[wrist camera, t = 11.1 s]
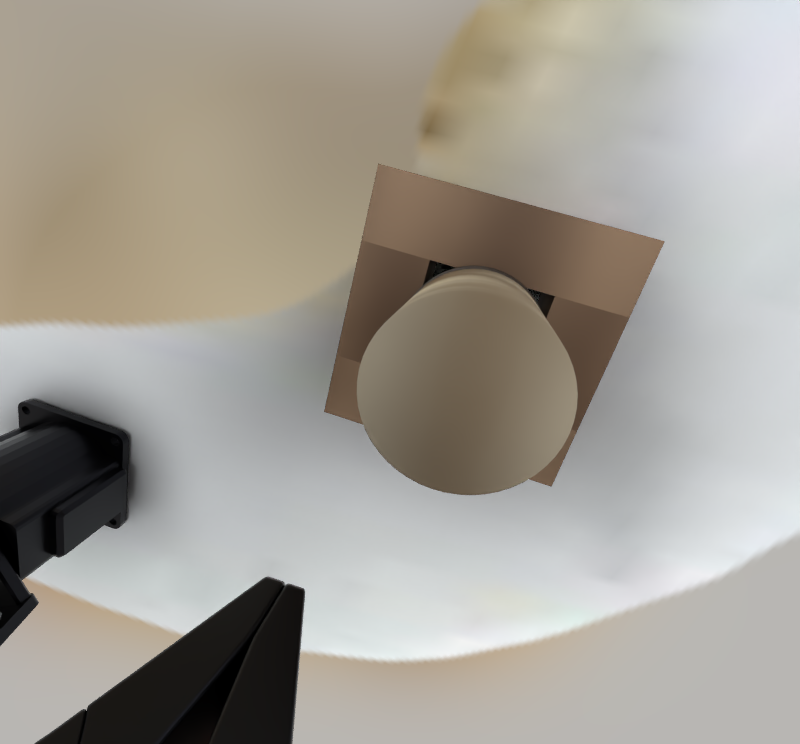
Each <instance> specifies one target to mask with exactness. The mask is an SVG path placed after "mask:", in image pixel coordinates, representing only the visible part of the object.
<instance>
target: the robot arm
mask: <svg viewBox="0 0 800 744" xmlns="http://www.w3.org/2000/svg"><path fill="white" fill-rule="evenodd" d="M18 413H19V428H18V429H16V430H13V431H11V432H9V433H6V434H4V435H2V436H0V646H1V645H2V644H3V643H4V641H5V640H6V639H7V638H8V637H9V636H10V635H11V634H12V633H13V631H14V630H15V629H16V628H17V627H18V626H19V625H20V624H21V623H22V621H23V620H24V619H25V618H26V617H27V616H28V614H30V613H31V611H32V610H33V609H34V608H35V607H36V606H37V605H38V603H39V602H38V601H37V599H36V597H35V596H34V594H33V593H29V591H28V590H27V588H26V587H25V585H24V583H23V582H22V580H23V579H24V578H25V577H27V576H28V575H29V574H31V573H32V572H33V571H35V570H36V569H37V568H39V567H40V566H41V565H43V564H44V563H45V562H47V561H48V560H49V559H51V558H52V557H53V556H56V557H62V556H64V555H66V554H67V553H68V552H70V551H71V550H72V549H74V548H75V547H76V546H78V545H79V544H80V543H81V542H83V541H84V540H85V539H87V538H88V537H89V536H90V535H92V534H93V533H94V532H96V531H97V530H98V529H99V528H101V527H102V526H103V525H106V526H108V527H111V528H114V529H117V528H119V527H120V526H122V525H123V524H124V523H125V521H126V503H127V477H128V451H129V439H128V437H127V435H126V434H125V433H124V432H123V431H121V430H118V429H115V428H112V427H109V426H106V425H103V424H101V423H98V422H95V421H92V420H89V419H86V418H83V417H81V416H78V415H75V414H72V413H69V412H66V411H63V410H61V409H58V408H55V407H52V406H49V405H46V404H43V403H41V402H38V401H35V400H31V399H29V400H26V401H24V402H21V403H20V404H19V405H18ZM304 601H305V590H304V589H303V588H301V587H298V586H295V585H292V584H286V585H285V583H284V582H283V581H280V580H277V579H274V578H271V577H265V578H263V579H262V580H260V581H259V582H258V583H256V584H255V585H254V586H252V587H251V588H249V589H248V590H247V591H245V592H244V593H243V594H241V595H240V596H238V597H237V598H236V599H234V600H233V601H232V602H230V603H229V604H227V605H226V606H225V607H223V608H222V609H220V610H219V611H218V612H216V613H215V614H214V615H212V616H211V617H209V618H208V619H207V620H205V621H204V622H203V623H201V624H200V625H198V626H197V627H196V628H194V629H193V630H192V631H190V632H189V633H187V634H186V635H185V636H183V637H182V638H181V639H179V640H178V641H176V642H175V643H174V644H172V645H171V646H170V647H168V648H167V649H165V650H164V651H163V652H161V653H160V654H159V655H157V656H156V657H154V658H153V659H152V660H150V661H149V662H147V663H146V664H145V665H143V666H142V667H141V668H139V669H138V670H137V671H135V672H134V673H132V674H131V675H130V676H128V677H127V678H126V679H124V680H123V681H121V682H120V683H119V684H117V685H116V686H114V687H113V688H112V689H110V690H109V691H108V692H106V693H105V694H103V695H102V696H101V697H99V698H98V699H97V700H95V701H94V702H92V703H91V704H90V705H89V706H88V708H87V711H86V710H85V709H83V710H81V711H80V712H78V713H77V714H76V715H74V716H73V717H72V718H70V719H69V720H67V721H66V722H65V723H63V724H62V725H61V726H59V727H58V728H56V729H55V730H54V731H52V732H51V733H49V734H48V735H46V736H45V737H43V738H42V739H40V740H39V741H38V742H36V743H35V744H292V741H293V740H292V739H293V729H294V717H295V705H296V694H297V681H298V671H299V659H300V648H301V636H302V624H303V613H304Z"/></svg>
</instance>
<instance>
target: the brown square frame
mask: <svg viewBox="0 0 800 744" xmlns="http://www.w3.org/2000/svg"><path fill="white" fill-rule="evenodd" d="M663 244H664V241H661V240H657V239H654V238H650V237H646V236H643V235H639V234H635V233H632V232H628V231H624V230H621V229H617V228H613V227H610V226H606V225H602V224H598V223H595V222H591V221H587V220H584V219H580V218H576V217H573V216H569V215H565V214H562V213H558V212H554V211H551V210H547V209H543V208H539V207H536V206H532V205H528V204H525V203H521V202H517V201H514V200H510V199H506V198H503V197H499V196H495V195H492V194H488V193H484V192H480V191H477V190H473V189H469V188H466V187H462V186H458V185H455V184H451V183H447V182H444V181H440V180H436V179H432V178H429V177H425V176H421V175H418V174H414V173H410V172H407V171H403V170H399V169H396V168H392V167H388V166H385V165H381V164H378V168H377V172H376V177H375V182H374V186H373V191H372V196H371V200H370V205H369V209H368V214H367V218H366V223H365V227H364V232H363V236H362V241H361V246H360V251H359V255H358V259H357V264H356V268H355V273H354V278H353V282H352V287H351V291H350V296H349V300H348V305H347V310H346V314H345V319H344V323H343V328H342V332H341V337H340V342H339V346H338V351H337V355H336V360H335V364H334V369H333V374H332V378H331V383H330V387H329V392H328V397H327V401H326V406H325V410H324V412H327V413H330V414H333V415H336V416H339V417H342V418H345V419H348V420H351V421H354V422H357V423H360V424H363V422H362V420H361V416H360V412H359V408H358V401H357V378H358V372H359V367H360V364H361V361H362V358H363V355H364V353H365V351H366V349H367V346H368V344H369V343H370V341H371V340H372V338H373V337H374V335H375V334H376V332H377V331H378V330H379V329H380V328H381V326H382V325H383V324H384V323H385V322H386V321H387V320H388V319H389V318H390V317H391V316H392V315H394V314H395V313H396V312H397V311H398V310H399V309H400V308H401V307H402V306H403V305H404V304H405V303H407V302H408V301H409V300H410V299H411V298H412V296H413V295H414V294H415V293H416V292H417V291H418V290H419V289H420V288H421V287H422V286H423V285H424V284H425V283H426V282H428V281H429V280H430V279H432V277H433V274H434V270H435V267H436V263H437V262H439V263H442V264H446V265H449V266H453V267H456V268H457V267H462V266H485V267H490V268H494V269H497V270H500V271H503V272H505V273H507V274H509V275H511V276H512V277H514V278H515V279H517V280H518V281H519V282H521V283H522V284H523V285H524V286H525V287H526V288H529V289H532V290H536V291H539V292H541V295H540V297H539V300H538V305H539V306H540V308H541V311H542V313H543V315H544V316H545V318H546V319H547V321H548V322H549V324H550V325H551V327H552V328H553V330H554V331H555V333H556V334H557V336H558V337H559V339H560V341H561V342H562V344H563V346H564V347H565V349H566V351H567V352H568V355H569V357H570V360H571V362H572V365H573V368H574V372H575V376H576V381H577V392H578V398H577V410H576V415H575V420H574V423H573V426H572V429H571V431H570V434H569V436H568V438H567V440H566V442H565V443H564V445H563V447H562V448H561V450H560V451H559V452H558V454H557V455H556V456H555V458H554V459H553V460H552V461H551V462H550V463H549V464H548V465H547V466H546V467H545V468H544V469H542V470H541V471H540V472H538V473H537V474H536V475H535V476H533V477H531V478H530V480H533V481H536V482H539V483H542V484H545V485H548V486H552V484H553V482H554V480H555V478H556V475H557V473H558V471H559V469H560V467H561V465H562V462H563V460H564V458H565V456H566V454H567V452H568V449H569V447H570V445H571V443H572V441H573V439H574V436H575V434H576V432H577V430H578V428H579V426H580V423H581V421H582V419H583V417H584V415H585V413H586V410H587V408H588V406H589V404H590V402H591V400H592V397H593V395H594V393H595V391H596V389H597V387H598V384H599V382H600V380H601V378H602V376H603V374H604V371H605V369H606V367H607V365H608V363H609V361H610V358H611V356H612V354H613V352H614V350H615V348H616V345H617V343H618V341H619V339H620V337H621V335H622V332H623V330H624V328H625V326H626V324H627V322H628V319H629V317H630V315H631V313H632V311H633V309H634V306H635V304H636V302H637V300H638V298H639V296H640V293H641V291H642V289H643V287H644V285H645V283H646V280H647V278H648V276H649V274H650V272H651V270H652V267H653V265H654V263H655V261H656V259H657V257H658V254H659V252H660V250H661V248H662V246H663Z"/></svg>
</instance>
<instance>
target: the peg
mask: <svg viewBox="0 0 800 744" xmlns="http://www.w3.org/2000/svg"><path fill="white" fill-rule="evenodd" d="M577 398H578V392H577V381H576V376H575V372H574V368H573V365H572V362H571V360H570V357H569V355H568V352H567V351H566V349H565V347H564V346H563V344H562V342H561V341H560V339H559V337H558V336H557V334H556V333H555V331H554V330H553V328H552V327H551V325H550V324H549V322H548V321H547V319H546V318H545V316H544V315H543V313H542V311H541V308H540V306H539V305H538V303H537V301H536V300H535V298H534V297H533V295H532V294H531V293H530V292H529V290H528V289H527V288H526V287H525V286H524V285H523V284H522V283H521V282H519V281H518V280H517V279H515V278H514V277H512V276H511V275H509V274H507V273H505V272H503V271H500V270H497V269H494V268H490V267H485V266H462V267H457V268H453V269H450V270H447V271H444V272H442V273H440V274H438V275H436V276H435V277H433V278H432V279H430V280H429V281H428V282H426V283H425V284H424V285H423V286H422V287H421V288H420V289H419V290H418V291H417V292H416V293H415V294H414V295H413V296H412V298H411V299H410V300H409V301H408V302H407V303H405V304H404V305H403V306H402V307H401V308H400V309H399V310H398V311H397V312H396V313H395V314H394V315H392V316H391V317H390V318H389V319H388V320H387V321H386V322H385V323H384V324H383V325H382V326H381V328H380V329H379V330H378V331H377V332H376V334H375V335H374V337H373V338H372V340H371V341H370V343H369V344H368V346H367V349H366V351H365V353H364V355H363V358H362V361H361V364H360V367H359V372H358V378H357V401H358V408H359V412H360V416H361V420H362V422H363V425H364V428H365V430H366V432H367V434H368V436H369V438H370V440H371V442H372V443H373V444H374V446H375V447H376V449H377V450H378V452H379V453H380V454H381V455H382V456H383V457H384V458H385V459H386V461H387V462H388V463H390V464H391V465H392V466H393V467H394V468H395V469H396V470H398V471H399V472H401V473H402V474H403V475H405V476H406V477H408V478H410V479H412V480H413V481H415V482H417V483H419V484H421V485H424V486H426V487H429V488H431V489H435V490H438V491H442V492H446V493H452V494H460V495H479V494H488V493H494V492H499V491H502V490H505V489H509V488H512V487H514V486H516V485H518V484H521V483H523V482H525V481H526V480H528V479H530V478H531V477H533V476H535V475H536V474H537V473H538V472H540V471H541V470H542V469H544V468H545V467H546V466H547V465H548V464H549V463H550V462H551V461H552V460H553V459H554V458H555V456H556V455H557V454H558V452H559V451H560V450H561V448H562V447H563V445H564V443H565V442H566V440H567V438H568V436H569V434H570V431H571V429H572V426H573V423H574V420H575V415H576V410H577Z"/></svg>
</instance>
